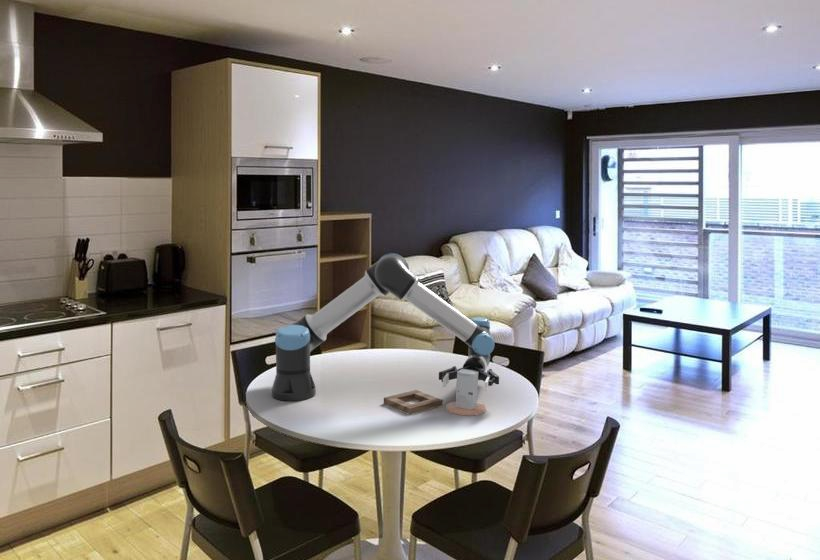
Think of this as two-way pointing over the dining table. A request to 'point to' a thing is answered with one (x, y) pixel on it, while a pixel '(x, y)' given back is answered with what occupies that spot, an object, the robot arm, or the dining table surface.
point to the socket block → (425, 404)
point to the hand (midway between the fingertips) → (464, 384)
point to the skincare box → (467, 389)
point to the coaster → (460, 411)
